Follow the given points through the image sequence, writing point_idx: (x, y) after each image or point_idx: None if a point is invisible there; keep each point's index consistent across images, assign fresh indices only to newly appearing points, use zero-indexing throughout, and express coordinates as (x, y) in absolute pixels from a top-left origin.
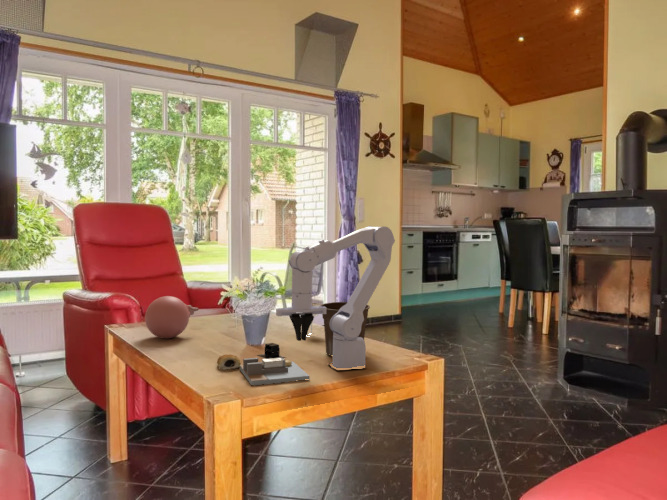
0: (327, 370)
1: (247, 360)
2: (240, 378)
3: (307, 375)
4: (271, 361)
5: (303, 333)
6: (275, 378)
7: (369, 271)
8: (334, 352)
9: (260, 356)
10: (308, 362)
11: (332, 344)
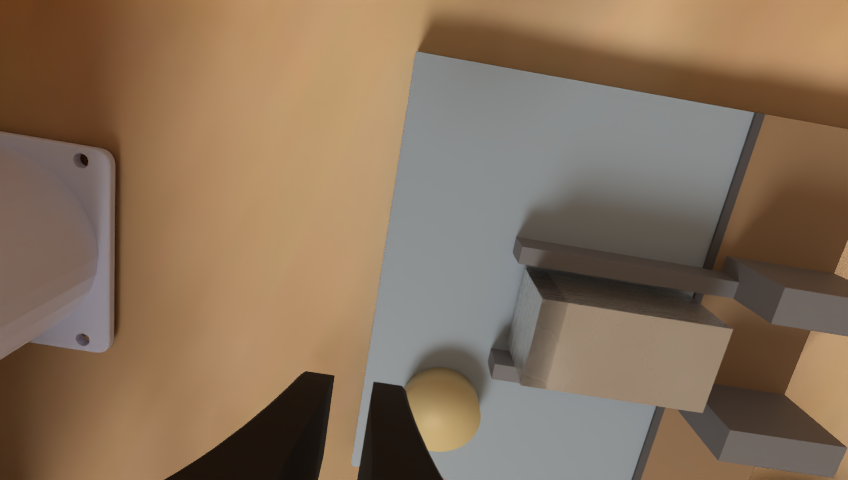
0: (171, 227)
1: (813, 439)
2: None
3: (425, 70)
4: (671, 317)
5: (308, 454)
6: (694, 115)
7: None
8: (5, 281)
9: None
10: None
11: None
